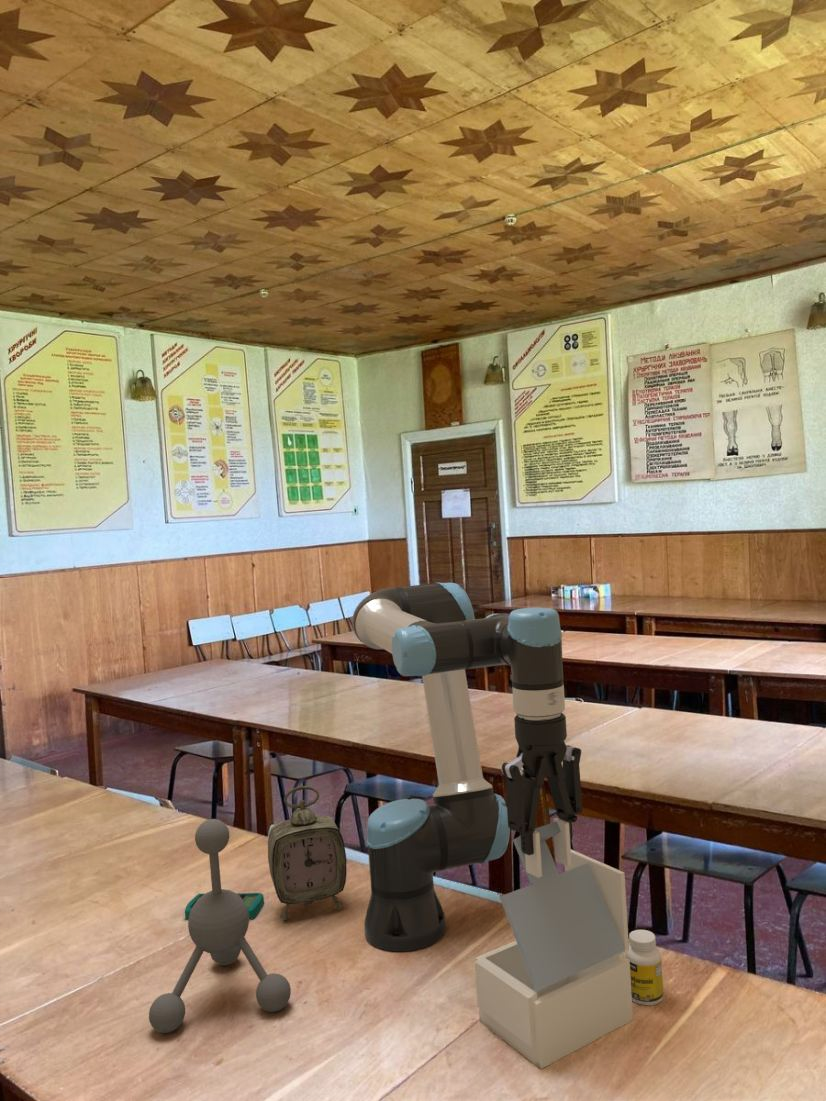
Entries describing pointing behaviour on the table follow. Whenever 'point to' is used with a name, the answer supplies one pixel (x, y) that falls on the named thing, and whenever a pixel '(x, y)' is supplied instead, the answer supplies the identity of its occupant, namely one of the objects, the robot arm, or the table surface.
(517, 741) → the robot arm
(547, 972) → the flap
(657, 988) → the supplement bottle
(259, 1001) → the molecular model
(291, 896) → the tabletop clock
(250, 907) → the digital multimeter
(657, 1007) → the table surface
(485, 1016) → the carton
